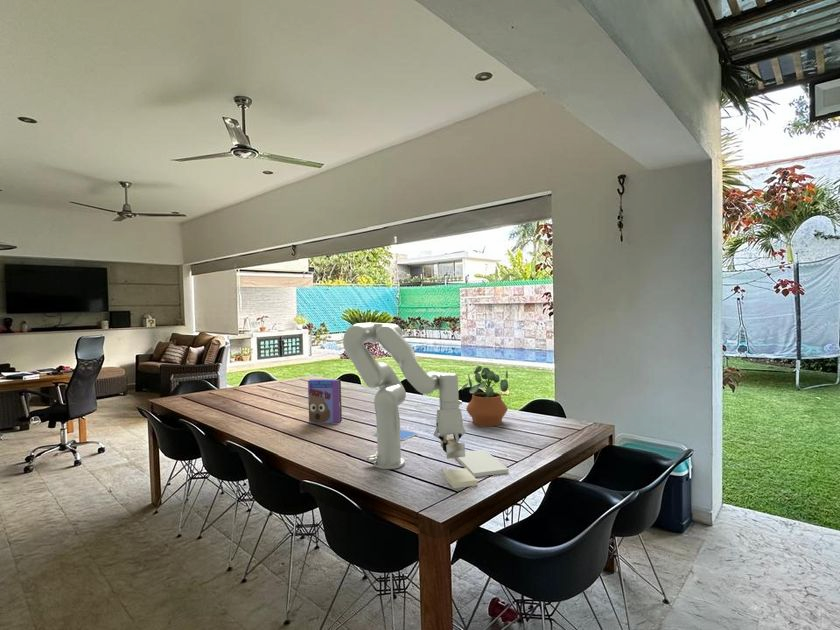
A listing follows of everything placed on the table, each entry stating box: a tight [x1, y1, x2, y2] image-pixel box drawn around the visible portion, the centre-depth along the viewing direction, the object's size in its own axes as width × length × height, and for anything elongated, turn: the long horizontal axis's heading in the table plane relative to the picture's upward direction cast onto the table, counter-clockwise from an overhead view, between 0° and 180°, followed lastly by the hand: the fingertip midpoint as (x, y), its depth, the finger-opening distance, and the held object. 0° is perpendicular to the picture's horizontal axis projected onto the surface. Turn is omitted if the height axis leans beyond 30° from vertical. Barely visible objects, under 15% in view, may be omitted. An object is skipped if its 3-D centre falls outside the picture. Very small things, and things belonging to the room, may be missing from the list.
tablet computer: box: [373, 429, 418, 441], centre depth 224 cm, size 19×13×1 cm, turn 55°
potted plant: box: [460, 365, 509, 427], centre depth 240 cm, size 23×28×30 cm
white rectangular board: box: [455, 448, 509, 478], centre depth 180 cm, size 14×24×2 cm, turn 14°
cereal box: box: [307, 379, 343, 424], centre depth 250 cm, size 17×5×24 cm, turn 83°
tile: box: [442, 467, 478, 489], centre depth 164 cm, size 9×2×12 cm
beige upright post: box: [440, 435, 466, 459], centre depth 175 cm, size 7×15×5 cm, turn 15°
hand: (450, 451), depth 175 cm, fingers closed on beige upright post, 3 cm apart
